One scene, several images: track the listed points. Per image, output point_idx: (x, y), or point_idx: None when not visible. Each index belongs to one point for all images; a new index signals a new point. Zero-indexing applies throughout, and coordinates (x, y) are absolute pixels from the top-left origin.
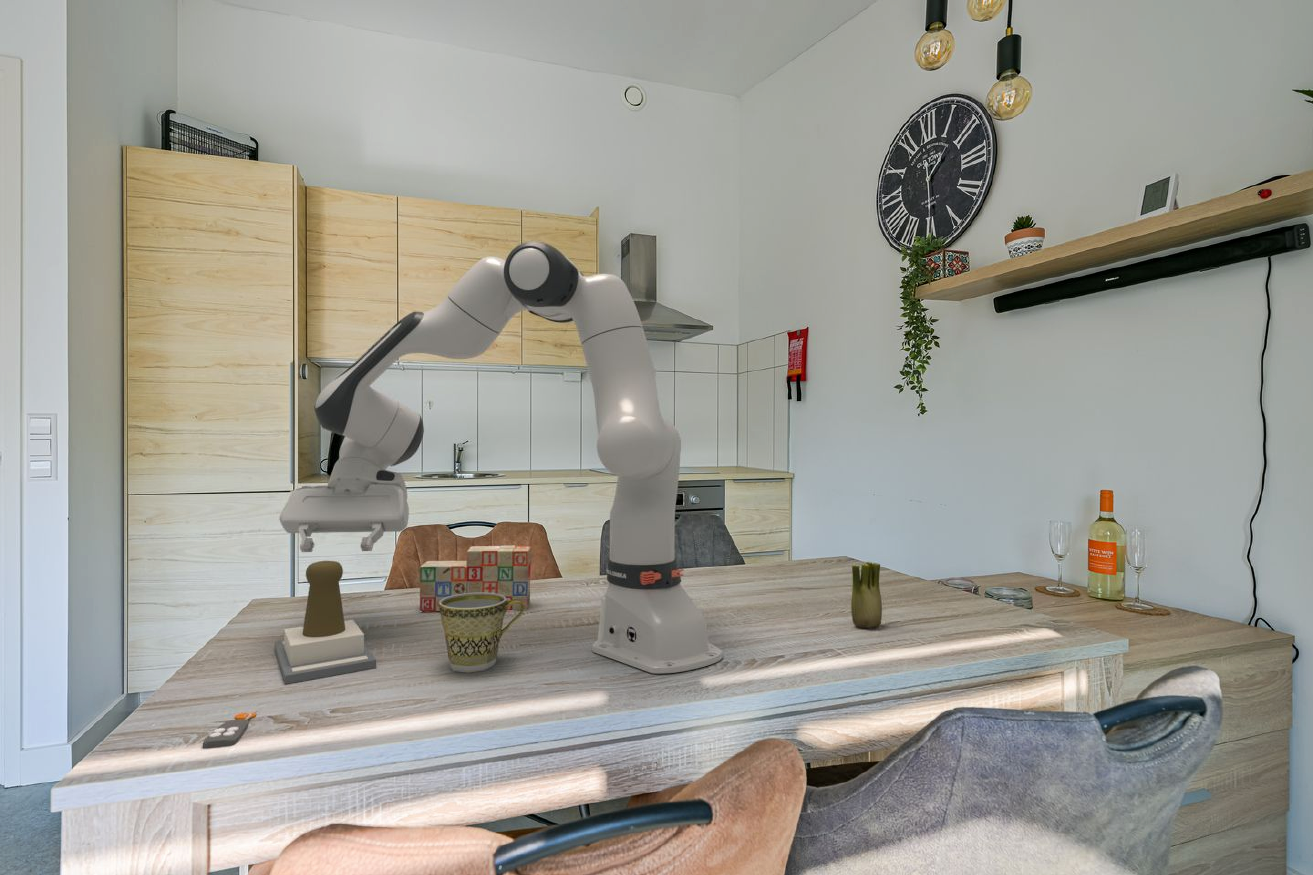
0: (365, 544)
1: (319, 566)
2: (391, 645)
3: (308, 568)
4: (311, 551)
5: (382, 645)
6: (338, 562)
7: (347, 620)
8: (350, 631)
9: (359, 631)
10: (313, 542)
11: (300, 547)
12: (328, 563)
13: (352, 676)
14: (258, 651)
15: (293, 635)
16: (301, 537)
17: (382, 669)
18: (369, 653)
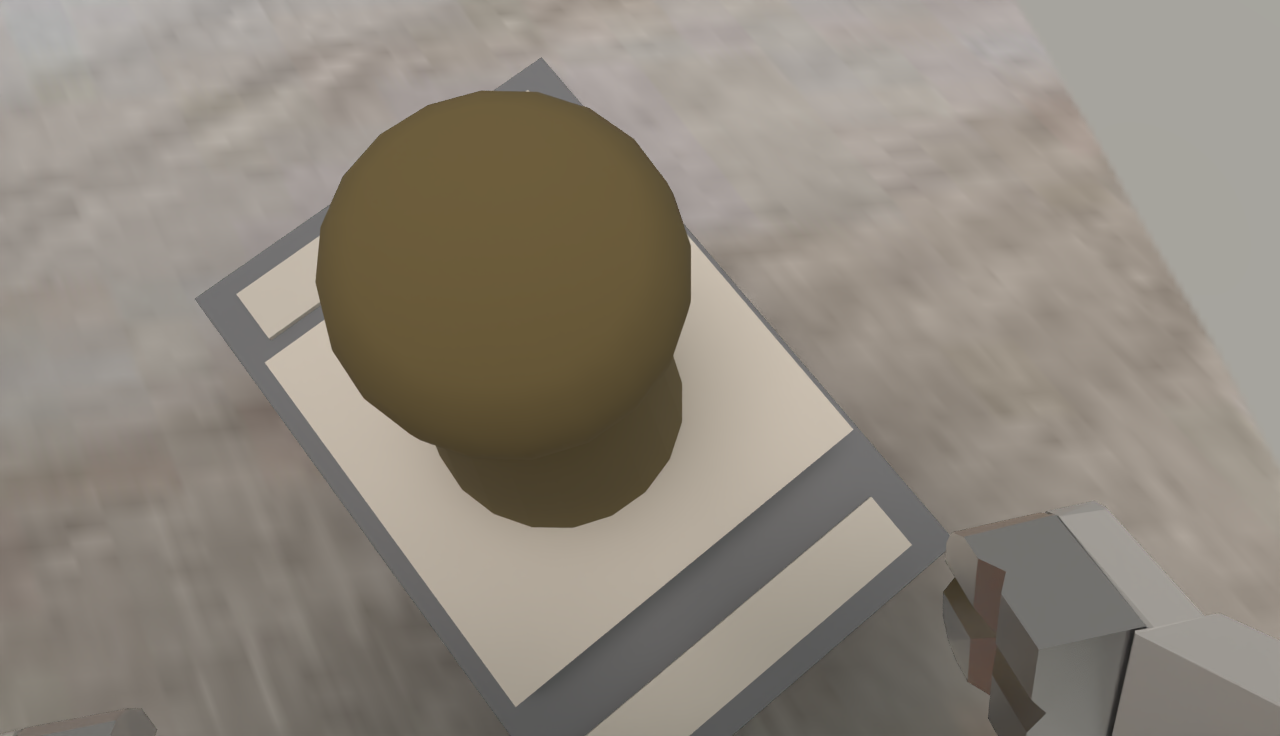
0: (31, 728)
1: (473, 103)
2: (280, 694)
3: (615, 129)
4: (946, 624)
5: (337, 689)
6: (370, 344)
7: (540, 677)
8: (383, 414)
9: (325, 423)
10: (1019, 722)
11: (1078, 505)
12: (406, 176)
13: (283, 194)
14: (1014, 510)
15: (700, 303)
16: (1237, 621)
17: (172, 294)
18: (277, 396)
